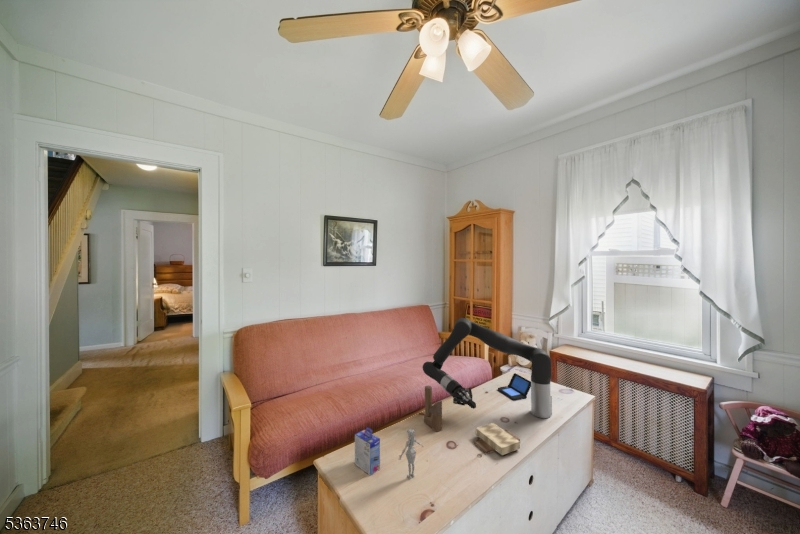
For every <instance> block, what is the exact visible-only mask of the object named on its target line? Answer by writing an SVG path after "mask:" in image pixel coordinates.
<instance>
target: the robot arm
mask: <svg viewBox="0 0 800 534" xmlns="http://www.w3.org/2000/svg"><path fill="white" fill-rule="evenodd" d="M455 321H456V322H455V324H454V326H453V327H454V328H453V329H452V330H451V333H450V335H449V336H448V337H447V339H446V340H445V341H444V342H443V343H442V344H441V345H440V346H439V347H438V348H437V350H436V351H435V353H434V354H433V356H432V359H433V361H426V362H424V363H423V364H422V371H423V373H424V375H426V376H428V377H429V378H430V379H432V380H435V381H436V383H437V384H438V385H440V386H441V387H442V389H443V390H444V391H446V392H447V393H448V394H449V395H450V396H451V397H452V398H453V399H452V403H453V404H454V405H455V404H456V405H460V406H466V405H468V406H469V407H470V408H471V409H473V410H475V409H476V408H477V405H476V404H477V403H476V402H475V401H474V400H473V392H472V388H471V387H469V388H468V389H467V388H465V387H464V386H463V385H462V384H460V382H458V381H457V380H456V379H455V378H453V377H452V376H451V375H449V374H448V373H447V372H445V371H444V370H443V369H442V368H443V366H444V363H445V362H446V360H447V359H448V358H449V357H450V355H451V354H452V352H453V351H454V349H456V347H457V346H458V345H459V344H460V343H461V341H463V340H464V339H465V338H466V337H468V336H472V337H474V338H475V339H478V340H480V341H481V342H482V343H483V344H485V345H487V346H488V347H489V348H492V349H493V350H496V351H498V352H501V353H503V354H508V355H512V356H513V355H514V356H519V357H520V358H523V359H524V360H525V359H526V360H527V361H529V362H531V374H530V381H531V387H530V403H531V404H530V406H531V407H530V408H531V409H530V410H531V411H530V413H531V414H532V415H533V416H534V417H537V418H540V419H548V418H551V416H552V415H553V398H552V397H553V396H552V394H551V392H552V391H551V390H552V389H551V387H552V386H551V385H552V384H551V380H552V359H551V356H550V355H549V354H548V352H547V351H546V350H544V349H543V348H538V347H536V346H533V345H530V344H525V343H523V342H521V341H519V340H517V339H515V338H513V337H510V336H509V335H506V334H504V333H500V332H498V331H495V330H493V329H490V328H487V327H485V326H482V325H480V324H478V323H476V322H474V321H472V320H470V319H468V318H465V317H460V318H459V319H457V320H455Z"/></svg>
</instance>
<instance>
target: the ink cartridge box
mask: <svg viewBox="0 0 800 534" xmlns="http://www.w3.org/2000/svg"><path fill="white" fill-rule="evenodd" d="M373 431H374V430H373V429H371V428H370V427H366V429H362V430H361V431H359V432H356V433H355V434H354V465H356V466H357V467H358V468H359V469H361V470H362V471H364V472H365V473H366V474H367V475H369V476H371V475H373V474H375V473H376V472H378V471H380V469H381V452H380V451H381V448H380V447H381V444H380V443H381V440H380V439H381V438H380V437H378V436H377V435H374V434H373ZM377 470H378V471H377Z"/></svg>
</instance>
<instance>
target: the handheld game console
mask: <svg viewBox="0 0 800 534" xmlns="http://www.w3.org/2000/svg"><path fill="white" fill-rule="evenodd" d="M497 391H498V392H500V393H502V394H503V395H505V396H506V397H508V398H509V399H510V400H512V401H520V400H525V399H527V396H528V393H529V392H530V391H531V380H528V379H527V378H525V377H523V376H521V375H519V374H518V373H516V372H515V373H513V374H512V376H511V379H510V381H509V383H508V385H506V386H500V387H497Z"/></svg>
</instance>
